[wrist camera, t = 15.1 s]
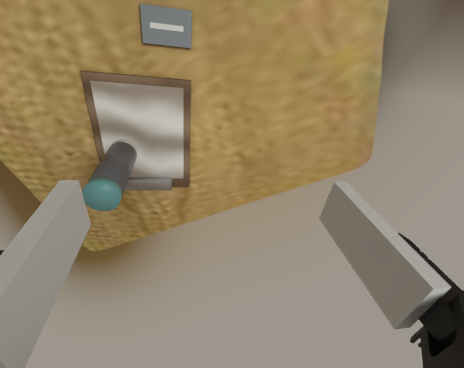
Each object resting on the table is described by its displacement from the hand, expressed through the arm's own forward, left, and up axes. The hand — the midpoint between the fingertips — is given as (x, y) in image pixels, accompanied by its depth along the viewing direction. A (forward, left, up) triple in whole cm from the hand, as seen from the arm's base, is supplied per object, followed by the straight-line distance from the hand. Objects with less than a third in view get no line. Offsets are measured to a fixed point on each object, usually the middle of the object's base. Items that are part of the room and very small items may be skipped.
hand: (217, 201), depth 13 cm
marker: (+10, -11, -26) cm, 30 cm away
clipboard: (+8, -8, -27) cm, 29 cm away
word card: (-7, -4, -27) cm, 28 cm away
